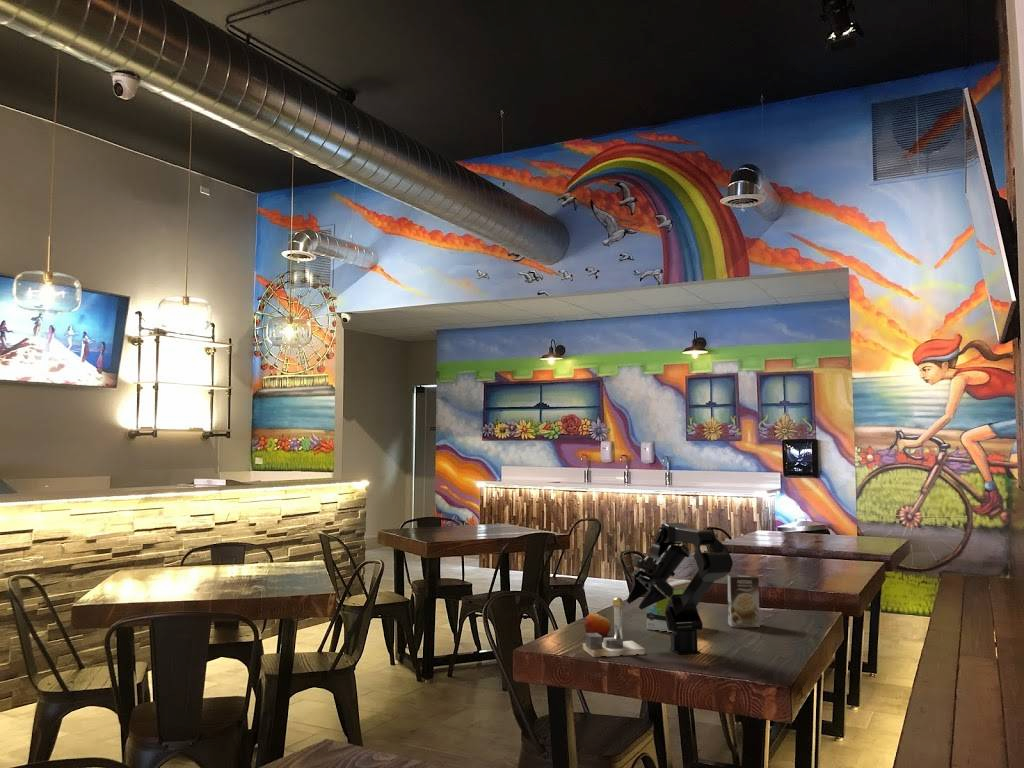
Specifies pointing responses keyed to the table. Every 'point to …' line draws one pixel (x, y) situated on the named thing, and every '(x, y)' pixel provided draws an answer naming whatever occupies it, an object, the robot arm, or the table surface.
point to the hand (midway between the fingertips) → (633, 605)
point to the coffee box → (743, 600)
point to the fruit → (597, 624)
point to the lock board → (610, 646)
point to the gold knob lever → (616, 621)
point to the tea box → (664, 606)
